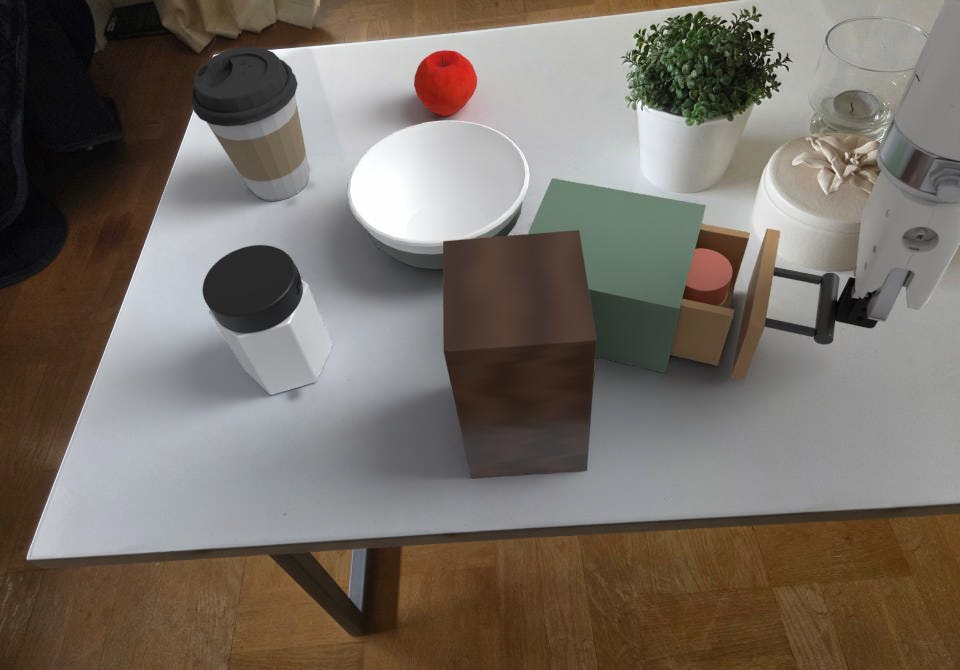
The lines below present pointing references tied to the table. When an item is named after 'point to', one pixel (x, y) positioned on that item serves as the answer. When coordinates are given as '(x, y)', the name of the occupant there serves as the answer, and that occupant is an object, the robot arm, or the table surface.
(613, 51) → the table surface
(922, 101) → the robot arm
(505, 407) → the block
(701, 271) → the red cylinder
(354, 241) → the table surface
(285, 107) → the coffee cup
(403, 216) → the bowl
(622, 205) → the cabinet
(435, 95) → the apple
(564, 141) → the table surface
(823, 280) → the drawer
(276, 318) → the jar
